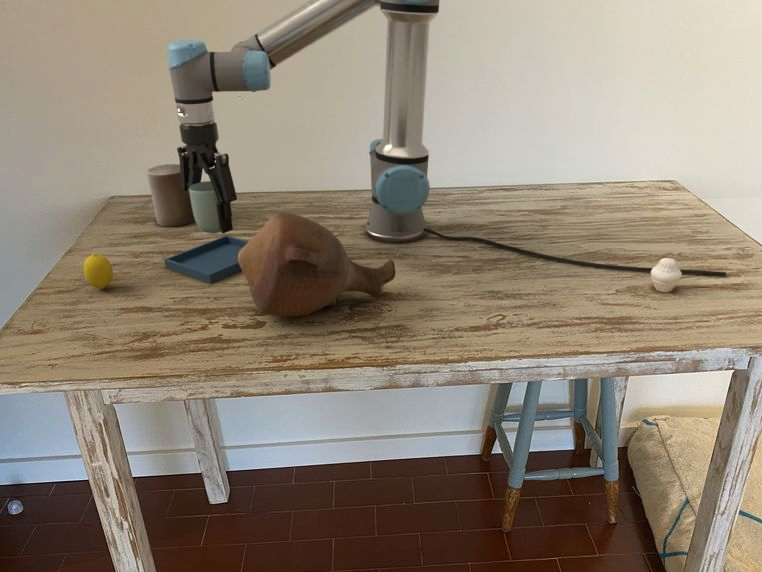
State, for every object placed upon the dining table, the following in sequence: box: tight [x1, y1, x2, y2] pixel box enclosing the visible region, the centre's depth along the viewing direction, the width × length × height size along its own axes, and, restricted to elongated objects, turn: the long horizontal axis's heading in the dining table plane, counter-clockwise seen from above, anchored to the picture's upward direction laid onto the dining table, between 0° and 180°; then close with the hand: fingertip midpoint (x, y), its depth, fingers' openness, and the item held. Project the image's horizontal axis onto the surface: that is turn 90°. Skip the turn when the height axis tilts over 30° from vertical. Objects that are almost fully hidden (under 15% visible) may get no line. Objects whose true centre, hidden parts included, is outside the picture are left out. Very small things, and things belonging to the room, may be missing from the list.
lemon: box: [83, 253, 114, 290], centre depth 148 cm, size 6×6×8 cm
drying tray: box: [163, 234, 249, 284], centre depth 162 cm, size 15×18×2 cm
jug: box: [238, 212, 396, 318], centre depth 137 cm, size 20×20×30 cm
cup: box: [189, 180, 224, 234], centre depth 156 cm, size 8×8×10 cm
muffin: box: [650, 257, 683, 293], centre depth 146 cm, size 6×6×7 cm
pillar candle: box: [146, 163, 195, 228], centre depth 182 cm, size 10×10×15 cm
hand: (213, 227), depth 158 cm, fingers closed on cup, 8 cm apart
